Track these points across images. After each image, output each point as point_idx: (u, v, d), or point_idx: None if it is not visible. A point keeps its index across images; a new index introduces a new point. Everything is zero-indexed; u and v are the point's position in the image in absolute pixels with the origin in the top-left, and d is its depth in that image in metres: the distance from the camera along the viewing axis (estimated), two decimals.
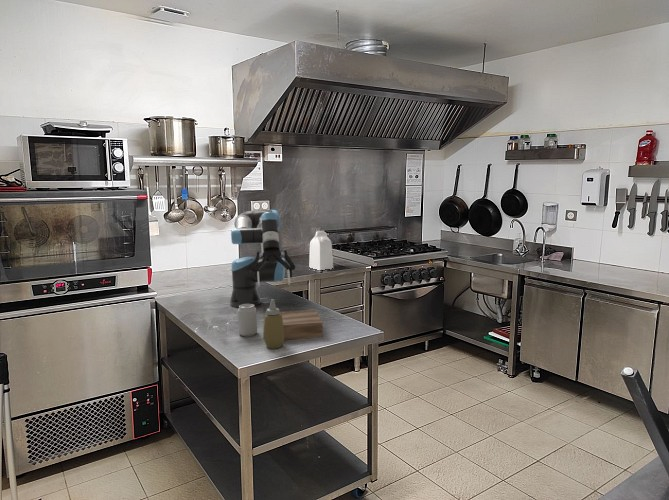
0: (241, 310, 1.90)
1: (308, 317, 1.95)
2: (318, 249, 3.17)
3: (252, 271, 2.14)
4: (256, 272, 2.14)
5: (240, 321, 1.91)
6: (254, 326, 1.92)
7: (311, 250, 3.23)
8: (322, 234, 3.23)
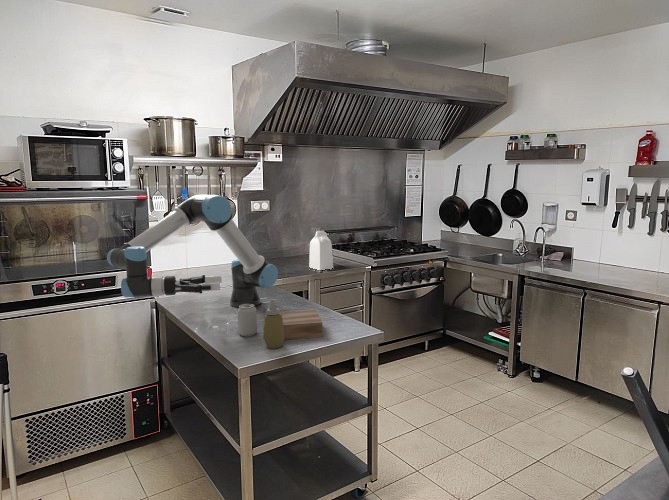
0: (241, 310, 1.90)
1: (308, 317, 1.95)
2: (318, 249, 3.17)
3: None
4: None
5: (240, 321, 1.91)
6: (254, 326, 1.92)
7: (311, 250, 3.23)
8: (322, 234, 3.23)
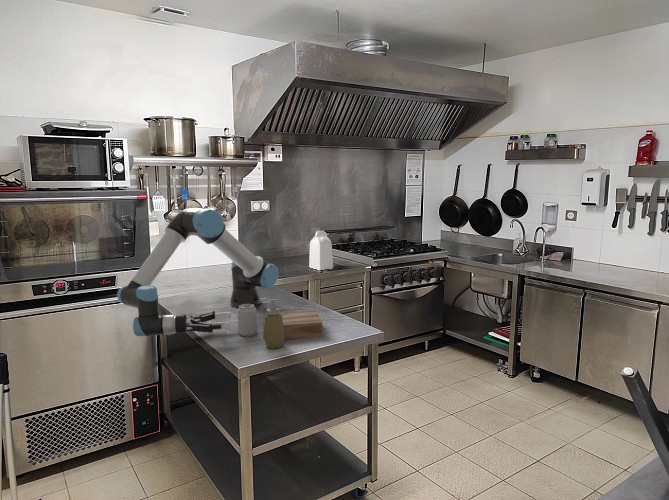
0: (241, 310, 1.90)
1: (308, 317, 1.95)
2: (318, 249, 3.17)
3: None
4: None
5: (240, 321, 1.91)
6: (254, 326, 1.92)
7: (311, 250, 3.23)
8: (322, 234, 3.23)
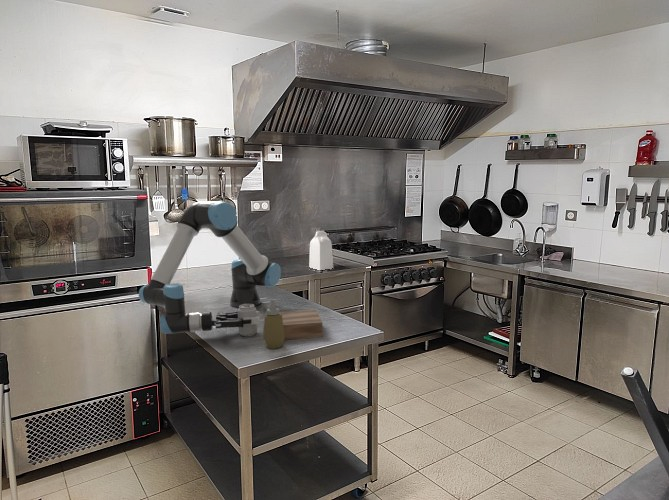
0: (241, 310, 1.90)
1: (308, 317, 1.95)
2: (318, 249, 3.17)
3: None
4: None
5: None
6: (254, 326, 1.92)
7: (311, 250, 3.23)
8: (322, 234, 3.23)
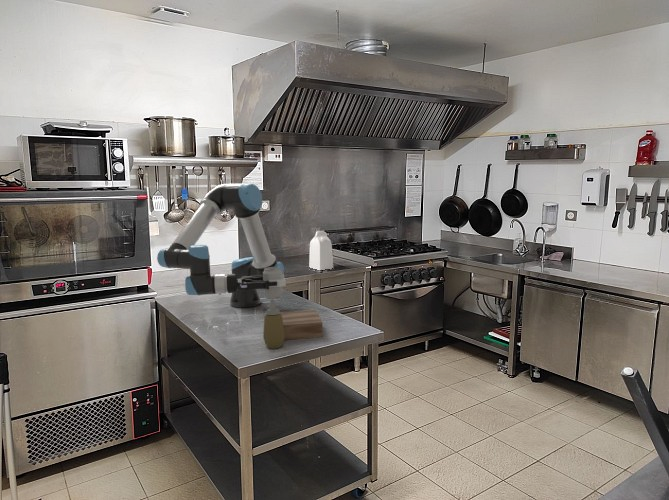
0: (267, 272, 1.87)
1: (308, 317, 1.95)
2: (318, 249, 3.17)
3: None
4: None
5: None
6: (279, 289, 1.89)
7: (311, 250, 3.23)
8: (322, 234, 3.23)
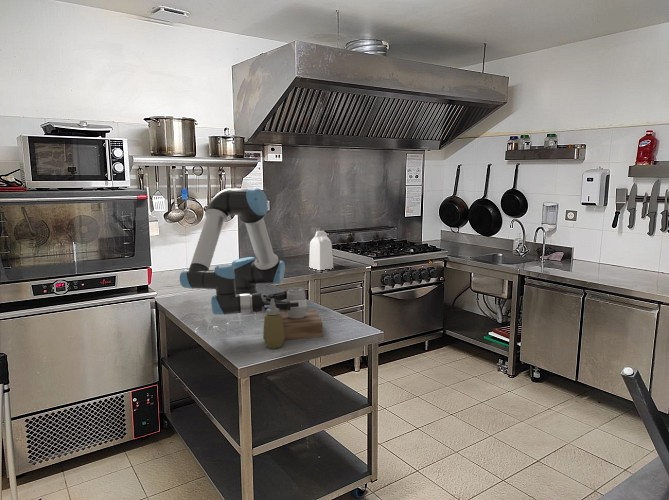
0: (291, 293, 1.91)
1: (308, 317, 1.95)
2: (318, 249, 3.17)
3: None
4: None
5: None
6: (303, 310, 1.93)
7: (311, 250, 3.23)
8: (322, 234, 3.23)
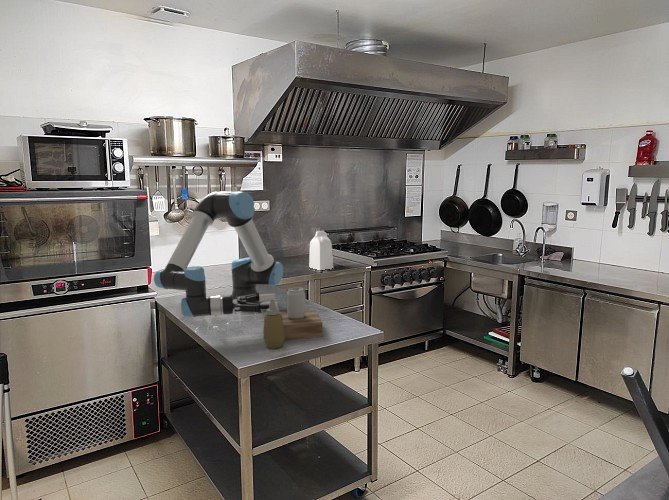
0: (291, 293, 1.91)
1: (308, 317, 1.95)
2: (318, 249, 3.17)
3: None
4: None
5: (290, 304, 1.91)
6: (303, 310, 1.93)
7: (311, 250, 3.23)
8: (322, 234, 3.23)
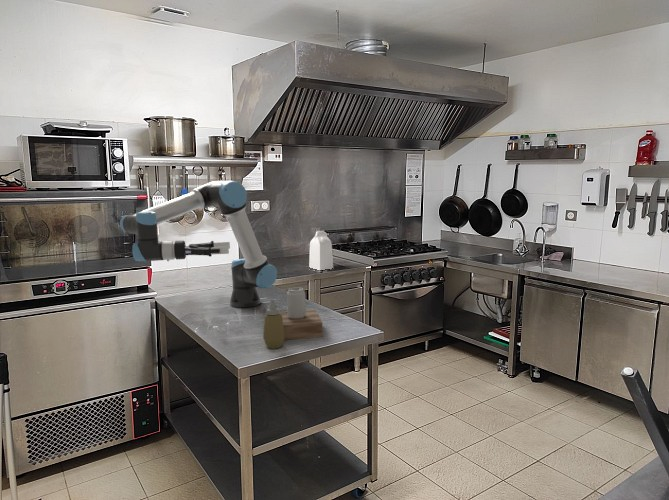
0: (291, 293, 1.91)
1: (308, 317, 1.95)
2: (318, 249, 3.17)
3: None
4: (214, 247, 2.00)
5: (290, 304, 1.91)
6: (303, 310, 1.93)
7: (311, 250, 3.23)
8: (322, 234, 3.23)
